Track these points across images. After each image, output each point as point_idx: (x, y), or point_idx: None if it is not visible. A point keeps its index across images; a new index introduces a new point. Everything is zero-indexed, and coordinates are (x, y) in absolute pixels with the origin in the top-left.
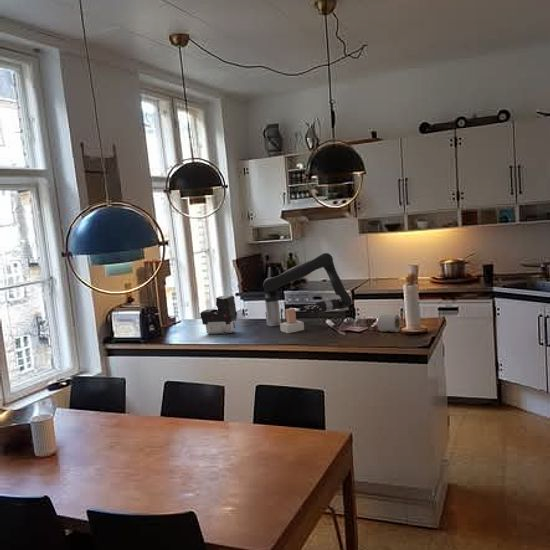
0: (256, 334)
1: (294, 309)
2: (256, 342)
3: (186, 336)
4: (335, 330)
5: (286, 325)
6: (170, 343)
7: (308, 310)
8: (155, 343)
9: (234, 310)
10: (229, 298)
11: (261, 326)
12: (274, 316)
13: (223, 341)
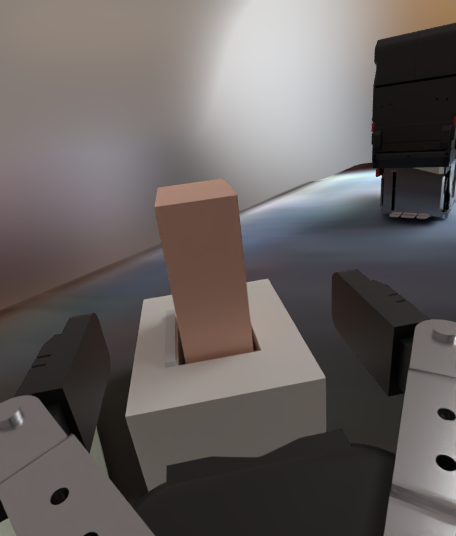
0: (312, 265)
1: (156, 213)
2: (148, 264)
3: None
4: None
5: (151, 299)
6: (335, 175)
7: (44, 358)
8: (355, 166)
9: (433, 116)
10: (400, 41)
11: None
12: None
13: (265, 217)
